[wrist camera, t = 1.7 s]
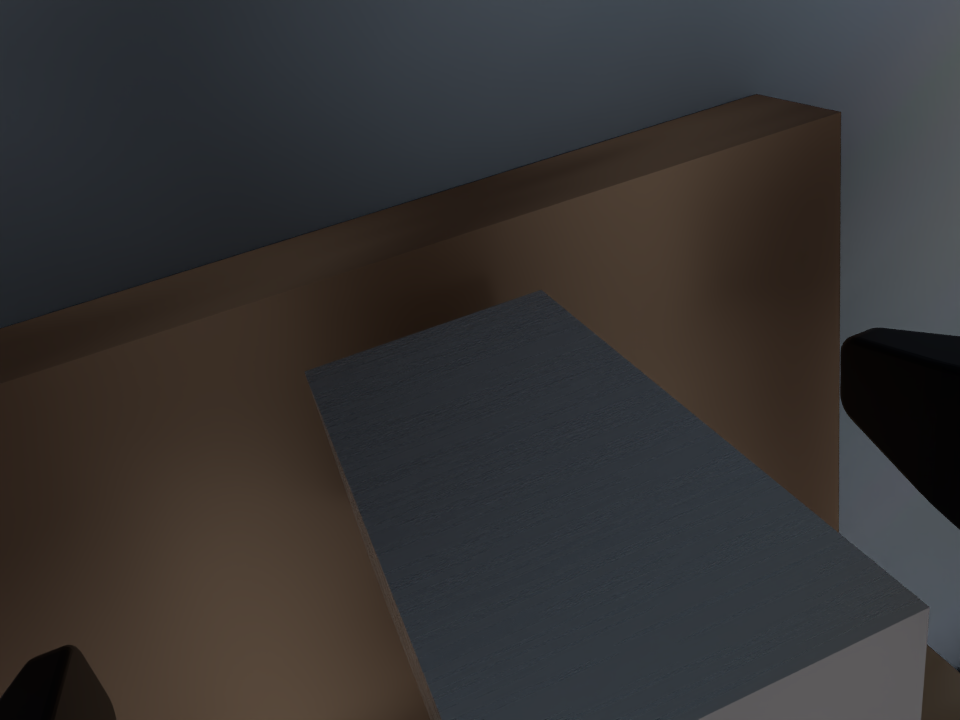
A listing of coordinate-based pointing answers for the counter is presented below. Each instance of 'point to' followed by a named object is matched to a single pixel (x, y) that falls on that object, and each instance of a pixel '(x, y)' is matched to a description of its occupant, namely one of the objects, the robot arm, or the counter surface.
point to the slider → (597, 540)
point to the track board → (364, 325)
